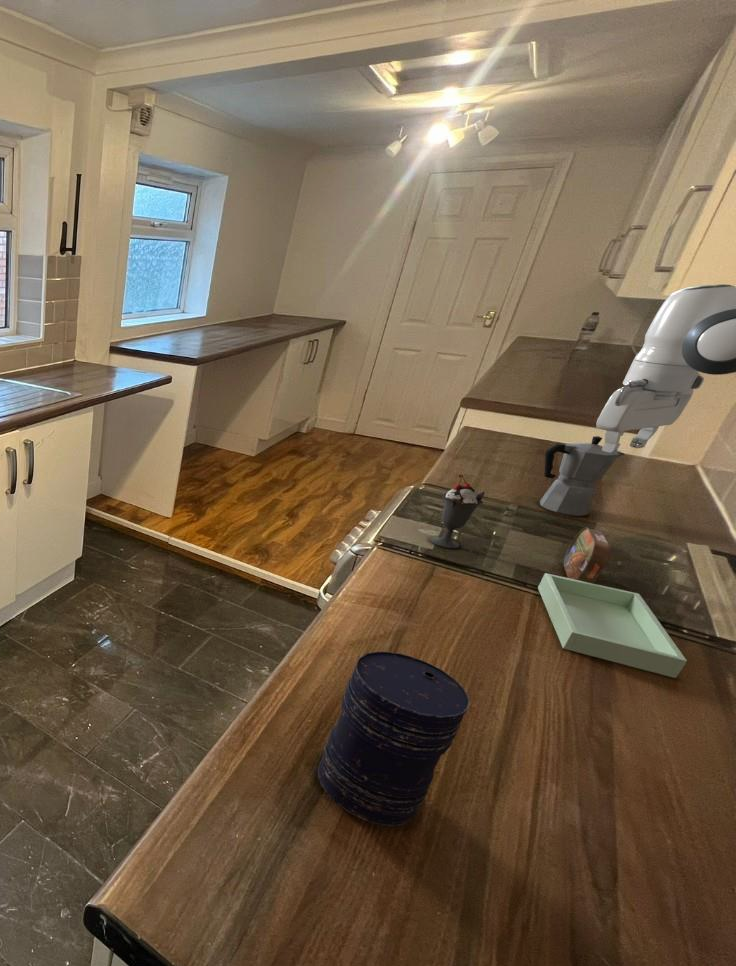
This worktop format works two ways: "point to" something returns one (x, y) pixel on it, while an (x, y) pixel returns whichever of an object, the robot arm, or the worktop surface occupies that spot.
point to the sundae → (457, 511)
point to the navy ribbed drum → (390, 736)
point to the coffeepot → (576, 476)
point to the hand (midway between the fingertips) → (622, 449)
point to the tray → (609, 625)
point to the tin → (587, 556)
